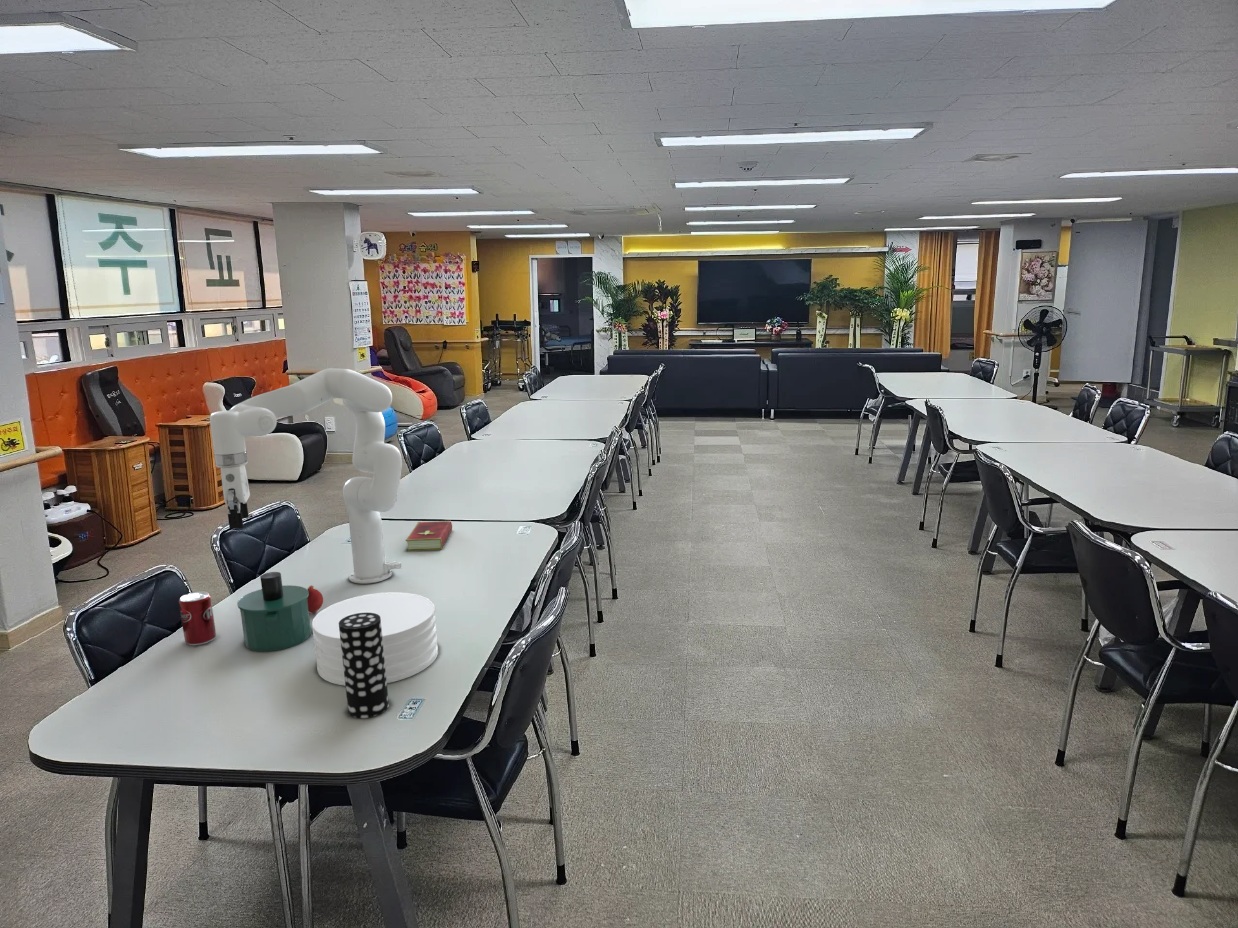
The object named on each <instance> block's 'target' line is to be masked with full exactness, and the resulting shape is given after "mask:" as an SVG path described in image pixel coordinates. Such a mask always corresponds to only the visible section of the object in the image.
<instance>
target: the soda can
mask: <svg viewBox="0 0 1238 928" xmlns="http://www.w3.org/2000/svg"><path fill="white" fill-rule="evenodd" d="M178 607H179V612H180V620H181V626H182V632H183V640H184V643H186V644H187V645H188V646H201V645H205V644H208V643H211V642H212V641H214V640H215V639H216V637H217V631H216V625H215V624H216V623H215V616H214V610H213V602H212V596H211V594H210V593H209V592H207V591H195V592H189V593H186V594H183V595H182V596H181V597H180V598H179V599H178Z"/></svg>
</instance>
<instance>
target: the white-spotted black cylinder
mask: <svg viewBox="0 0 1238 928" xmlns="http://www.w3.org/2000/svg"><path fill="white" fill-rule="evenodd" d="M339 631H340V640H341V650H342V659H343V668H344V677H345V686H344V687H345V695H346V703H347V713H348V715H349V716H351V717H353V718H356V719H369V718H373V717H377V716H379V715H382V714H383V713H384V712H386V711H387V710H388V709H389V706H390V703H389V702H390V701H389V692H388V691H389V690H388V683H387V680H386V670H385V659H384V649H383V639H382V629H381V618H380V616H379V615H378V614H375V613H357V614H353V615H349V616H347V617H345V618H343V619H341V620H340V621H339Z"/></svg>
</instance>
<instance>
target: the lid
mask: <svg viewBox="0 0 1238 928" xmlns="http://www.w3.org/2000/svg"><path fill="white" fill-rule="evenodd" d="M260 583H261V584H260V585H261V589H257V590H254V591H251V592H248V593H247V594H245V595H243V596H242V597H240V598H239V599H238V600H237V602H236V603H237V608H238V609H239V611H240V610H243V611H246V612H254V613H262V612H272V611H278V610H282V609H286V608H290V607H292V606H295V605H297V604H299V603H301V602H303V601H304V600H306V599H307V598H308V596H309V592H308V590H307V589H308V588H306V587H304V586H300V585H288V584H287V585H283V580H282V573H281V572H280V571H269V572H265V573H263V574H261V575H260Z"/></svg>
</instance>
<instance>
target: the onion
mask: <svg viewBox="0 0 1238 928" xmlns="http://www.w3.org/2000/svg"><path fill="white" fill-rule="evenodd" d="M306 589H307V590H308V592H309V596H308V598H307V601H308V610H309V614H315V613H317V611H319V609H321V607H322V606H323V604H324V595H323V594H322V592H321V591H320V590H318V589H316V588H315V586H314V585H309V586H308V588H306Z"/></svg>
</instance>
